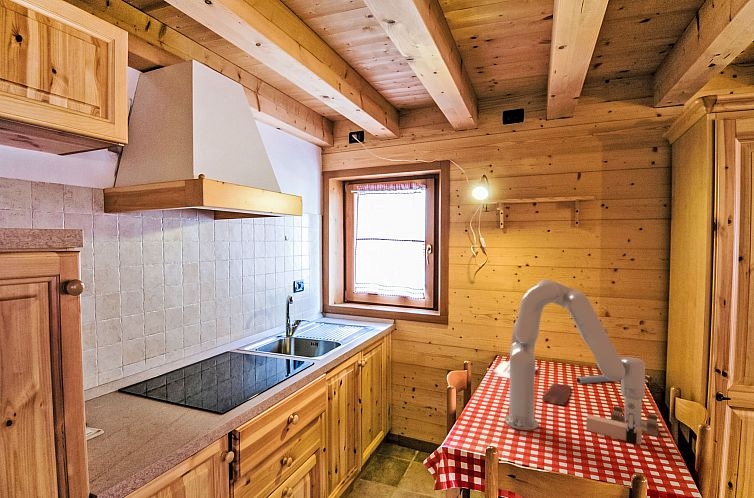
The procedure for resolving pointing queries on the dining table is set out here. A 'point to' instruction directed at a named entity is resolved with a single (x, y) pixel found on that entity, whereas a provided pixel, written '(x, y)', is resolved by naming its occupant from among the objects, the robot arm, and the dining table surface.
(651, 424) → the rack
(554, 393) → the wooden tablet
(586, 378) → the grey tube
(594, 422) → the clay strip
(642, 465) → the dining table surface
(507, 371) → the tray
